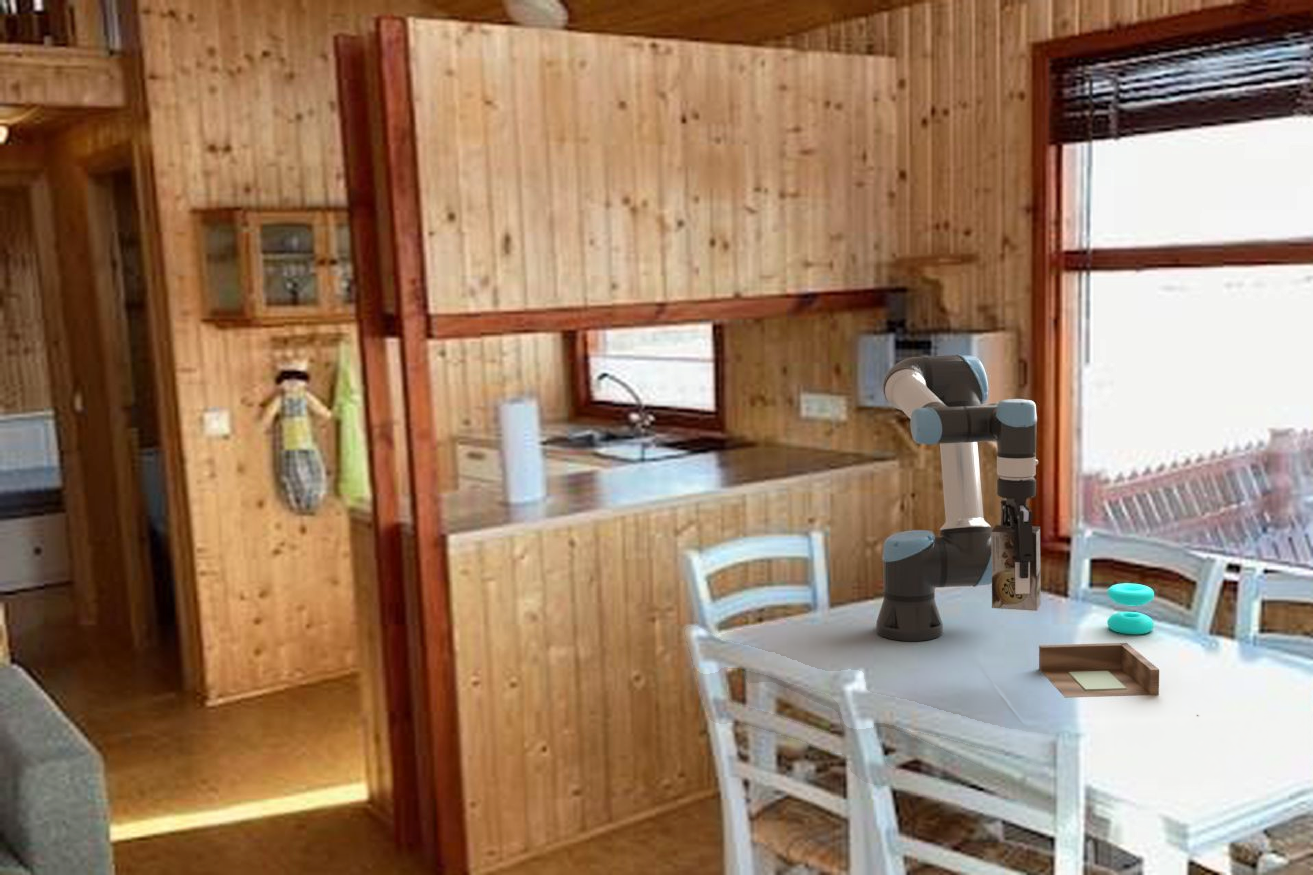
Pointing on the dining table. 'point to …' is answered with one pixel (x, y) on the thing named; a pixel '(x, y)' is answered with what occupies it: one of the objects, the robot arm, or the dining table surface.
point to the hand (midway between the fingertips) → (1016, 587)
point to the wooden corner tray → (1098, 668)
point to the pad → (1097, 680)
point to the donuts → (1132, 597)
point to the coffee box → (1013, 571)
